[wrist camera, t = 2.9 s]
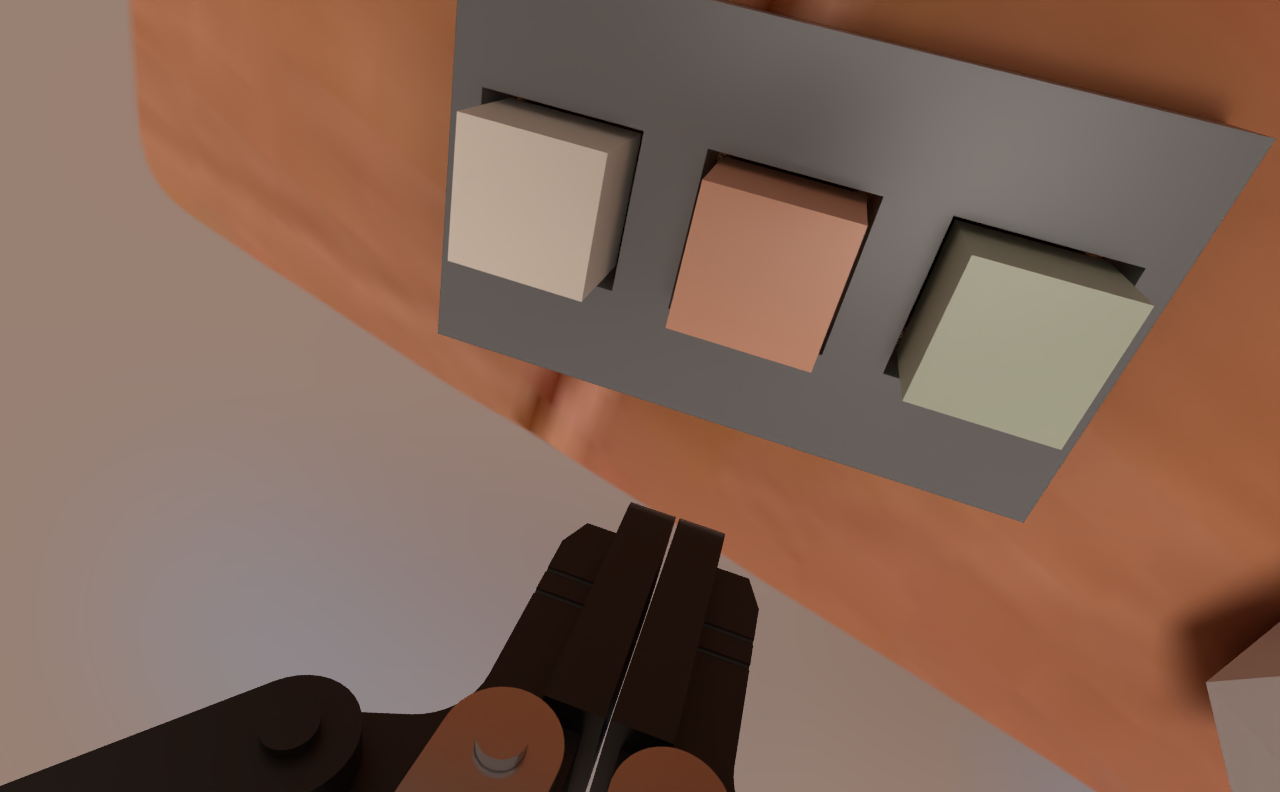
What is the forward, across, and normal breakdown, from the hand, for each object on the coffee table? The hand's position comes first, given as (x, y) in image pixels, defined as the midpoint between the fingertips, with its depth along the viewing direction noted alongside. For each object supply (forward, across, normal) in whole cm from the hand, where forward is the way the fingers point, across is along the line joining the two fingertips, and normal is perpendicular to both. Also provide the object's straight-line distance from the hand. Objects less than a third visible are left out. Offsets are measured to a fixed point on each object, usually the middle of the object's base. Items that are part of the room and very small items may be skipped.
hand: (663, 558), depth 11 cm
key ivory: (+17, +8, 0) cm, 19 cm away
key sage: (+17, -8, 0) cm, 19 cm away
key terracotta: (+17, 0, 0) cm, 17 cm away
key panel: (+18, 0, 0) cm, 19 cm away
